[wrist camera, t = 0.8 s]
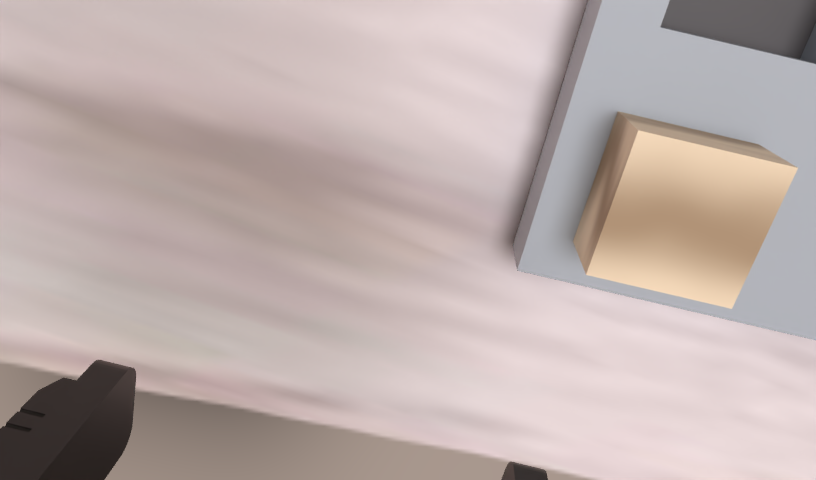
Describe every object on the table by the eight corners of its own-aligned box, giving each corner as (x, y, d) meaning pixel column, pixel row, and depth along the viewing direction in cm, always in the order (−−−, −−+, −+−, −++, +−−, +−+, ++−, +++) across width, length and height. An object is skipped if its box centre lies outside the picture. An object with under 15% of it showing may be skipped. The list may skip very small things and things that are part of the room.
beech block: (617, 111, 27) (638, 130, 24) (758, 144, 27) (798, 167, 24) (572, 241, 29) (586, 274, 26) (702, 271, 30) (731, 309, 26)
